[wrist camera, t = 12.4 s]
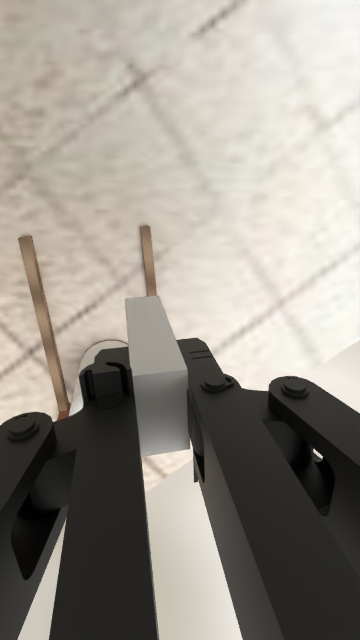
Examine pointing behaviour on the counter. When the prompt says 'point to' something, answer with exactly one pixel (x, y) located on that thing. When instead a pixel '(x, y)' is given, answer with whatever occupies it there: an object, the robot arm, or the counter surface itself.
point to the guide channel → (43, 314)
